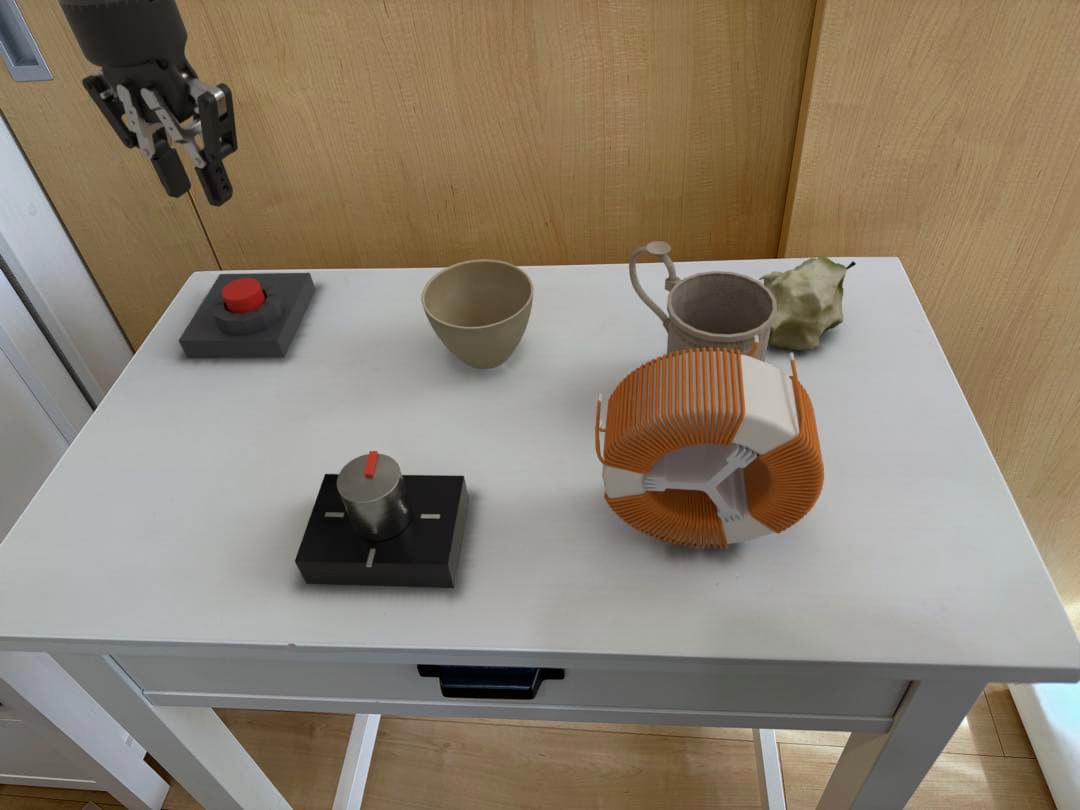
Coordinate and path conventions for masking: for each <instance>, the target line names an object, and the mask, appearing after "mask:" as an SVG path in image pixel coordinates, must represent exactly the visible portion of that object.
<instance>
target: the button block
mask: <svg viewBox="0 0 1080 810" xmlns="http://www.w3.org/2000/svg"><path fill="white" fill-rule="evenodd" d="M241 278H252V279H255V280H257V281H258V282H259V284H260V286H261V289H262V291H263V294H264V296H265V301H264V303H263V304H262V305H260V306H259V307H258V308H256V309H255V310H252V311H249V312H246V313H232V312H231V311H229V309H228V307H227V305H226V303H225V301H224V298H223V296H222V290H223V288H224V287H225V286H226V285H227V284H229V283H230V282H232V281H235V280H237V279H241ZM315 291H316V286H315V284H314V281H313V278H312V275H311V272H272V273H270V272H268V273H260V272H259V273H220V274H219V275H218V277H216V280H214V283H213V284H212V286H211V287H210V289H209V290H208V292H207V294H206V296H205V297H204V299H203V300H202V302H201V303H200V305H199V307H198V309H197V310H196V312H195V313H194V315H193V316H192V318H191V320H190V321H189V323H188V324H187V326H186V327H185V329H184V331H183V332H182V334H181V336H180V337H179V339H178V343H179V345H180V346H181V349H182V350H183V352H184V354H185V356H186V358H285V356H286V354H287V352H288V350H289V348H290V345H291V344H292V341H293V339H294V337H295V335H296V333H297V331H298V328H299V326H300V324H301V322H302V320H303V317H304V315H305V313H306V311H307V309H308V307H309V305H310V303H311V300H312V298H313V296H314V294H315Z"/></svg>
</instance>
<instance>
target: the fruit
mask: <svg viewBox="0 0 1080 810" xmlns="http://www.w3.org/2000/svg"><path fill="white" fill-rule="evenodd" d="M856 264H857V263H856V262H855V261H854V260H853V261H851V262H850V263H849V265H847V266H846V265H845V264H841V263H839V262H838V263H836V262H835V261H833V260H831V259H830V258H828V257H827V256H825V255H823V254H820V255H819V256H818V257H817V258H815V257H810V258H809V259H807V260H804V261H802V263H801V264H799V265H797V266H795V268H793V269H788V270H786V271H784V272H782V271H772V272H770V273H766V274H764V275H762V276H760V278H759V279H758V281H762V280H763V285H765V286H766V287H767V288H768V289H769V290H771V292H772V294H773V295H774V297H775V299H776V303H777V313H776V317H775V319H774V321H773V323H772V325H771V329H770V335H769V340H768V344H769V345H771V346H773V347H775V348H779V349H783V350H788V351H797V352H798V351H799V352H803V351H804V352H805V351H809V350H811V349H812V350H813V349H817V348H818V347H819V346H820V339H821V338H822V337H823V335H824V334H825V333H826V332H827V331H829V330H832V329H835V328H836V327H838V326H839V325H841V324H842V323H843V322H844V314H843V297H844V285H843V284H844V280H845V277H846V275H847V271H848V270H849V269H851V268H852V267H854V266H856Z"/></svg>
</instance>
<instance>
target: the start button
mask: <svg viewBox="0 0 1080 810" xmlns="http://www.w3.org/2000/svg"><path fill="white" fill-rule="evenodd" d="M222 296H223V298H224V301H225V303H226V305H227V307H228V309H229V311H231V312H232V313H246V312H249V311H252V310H255V309H256V308H258V307H259V306H260V305H262V304H263V303H264V301H265V296H264V294H263V291H262V289H261V286H260V284H259V282H258V281H257V280H255V279H252V278H241V279H237V280H235V281H232V282H230V283H229V284H227V285H226V286H225V287H224V288H223V290H222Z"/></svg>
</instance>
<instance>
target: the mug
mask: <svg viewBox="0 0 1080 810" xmlns="http://www.w3.org/2000/svg"><path fill="white" fill-rule="evenodd" d="M671 250H672V246H671V244H669V243H668V242H666V241H662V240H661V241H660V240H655V241H650V242H648V243H647V244H646V246H639V247H637V248H636V249H634V251H632V252H631V255H630V257H629V262H628V272H629V273H628V275H629V279H630V282H631V285H632V288H633V290H634V291H635V293H636V294H637V297H638V298H639V299H640V300H641V301H642V302H643V303H644V304H645V305H646V307H648V308H649V309H650V310H651V311H652V312H653V314H655V315H656V316H657V317H658V318H659V320H660V321H661V323H662V326H663V328H664V329H665V331H666V333H667V345H666V355H667V356H668V357H669V353H673V354H674V355H675V352H676V351H679V352H680V354H681V355H682V350H686V352H687V353H688V351H689V349H692V350H693V352H695V349H696V348H699V351H700V352H702V348H703V347H705V348H706V352H709V348H710V347H712V348H713V351H715V349H716V348H717V347H718V348H720V351H722V349H723V348H726V349H727V352H728V350H729V349H733V351H734V352H735V351H736V350H740V354H741V355H747V354H748V353H749V352H750V350H751V349H752V348H753V347H754V345H755V340H754V336H755V335H758V340H759V346H758V348H757V349H756V351H755V352H754V353H753V355H752V356H751V357H752V358H755V359H758V360H760V361H763V362H765V361H766V355H767V350H768V345H769V343H768V340H769V335H770V329H771V325H772V323H773V321H774V319H775V317H776V313H777V303H776V299H775V297H774V295H773V294H772V292H771V290H769V289H768V288H767V287H766V286H765V285H764V283H763V282H761V281H760V280H757V279H755V278H753V277H751V276H749V275H746V274H741V273H737V272H733V271H726V270H725V271H724V270H721V271H720V270H711V271H705V272H704V271H703V272H698V273H695V274H692V275H689V276H686V277H684V278H682V279H681V278H680V277H678V276H677V270H676V268H675V264H674V262H673V260H672V259H671V258H670V256H669V255H668V253H670V252H671ZM641 254H650V255H653V256H655V257H657V258H658V259H659V260H660V261H661V262H662V263H663V264H664V266H665V267H666V269H667V273H668V277H666V278H665V280H664V290H665V291H667V292H669V293H668V294H667V303H666V311H667V314H668V315H667V314H666V313H665V312H664V310H663V309H662V308H661V307H660V306H659V305H658V304H657V303H655V301H653V300H652V298H651V297H650V296H649V295H648V294H647V293H646V292H645V290H644V289H643V287H642V285H641V283H640V281H639V278H638V274H637V258H638V257H639V255H641Z"/></svg>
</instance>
